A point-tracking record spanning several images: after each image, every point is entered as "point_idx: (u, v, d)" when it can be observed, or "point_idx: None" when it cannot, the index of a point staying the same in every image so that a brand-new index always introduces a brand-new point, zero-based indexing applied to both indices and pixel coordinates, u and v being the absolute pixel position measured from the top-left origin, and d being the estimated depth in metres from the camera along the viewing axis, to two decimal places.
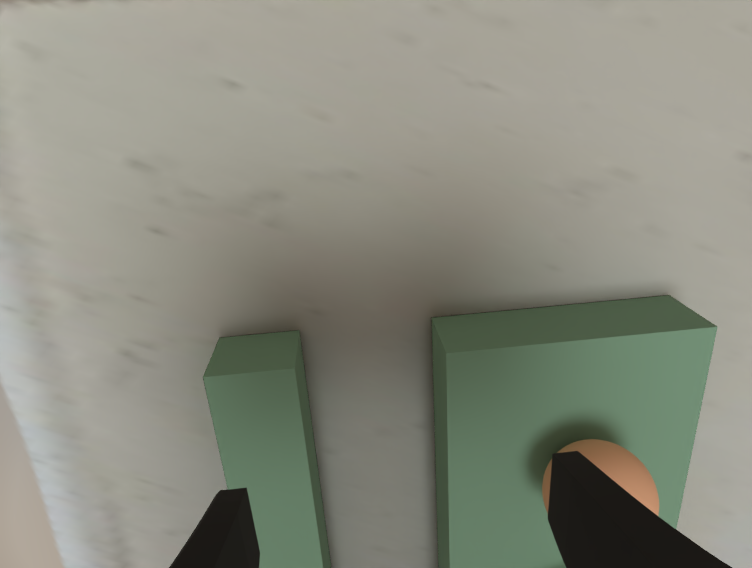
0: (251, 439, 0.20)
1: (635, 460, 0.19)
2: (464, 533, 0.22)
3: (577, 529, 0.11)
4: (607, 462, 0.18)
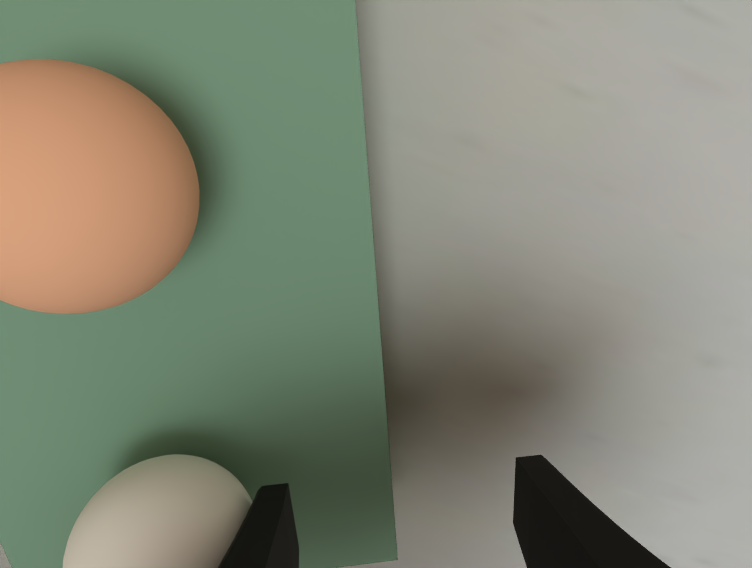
0: None
1: (108, 79, 0.08)
2: None
3: (537, 534, 0.11)
4: (12, 63, 0.07)
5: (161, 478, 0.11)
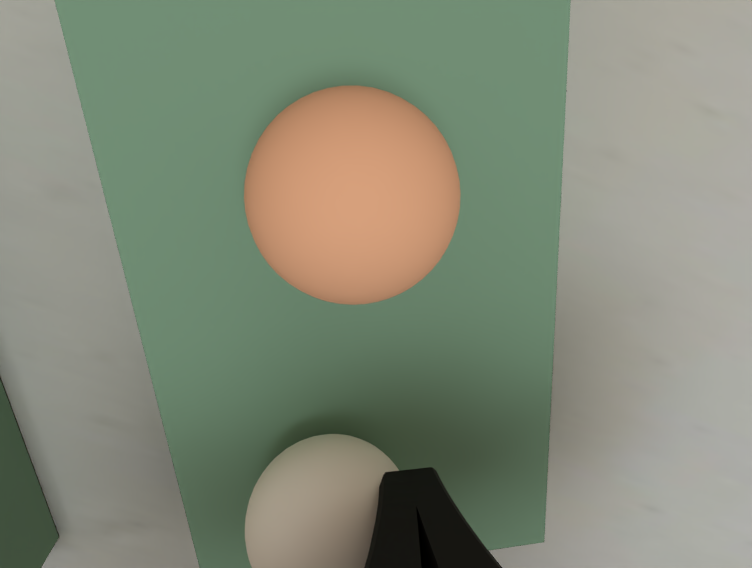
0: None
1: (408, 102, 0.09)
2: (170, 341, 0.13)
3: None
4: (340, 89, 0.09)
5: (336, 448, 0.12)
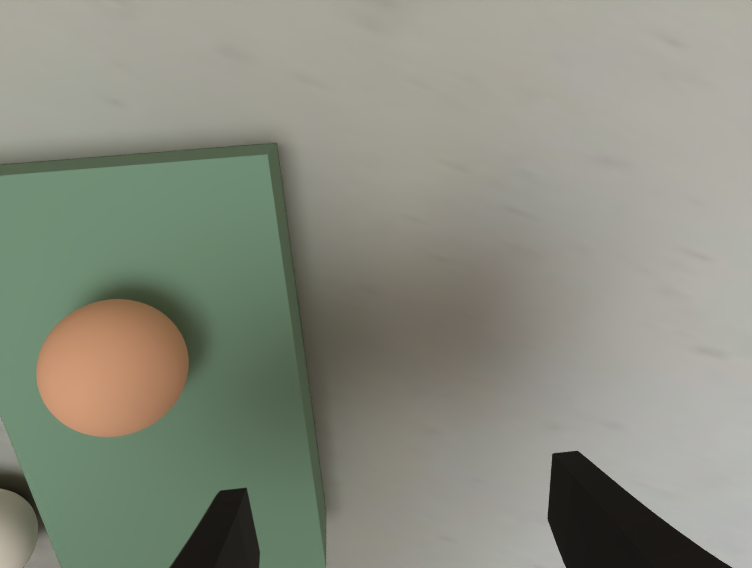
0: None
1: (139, 315, 0.15)
2: (28, 435, 0.18)
3: (577, 529, 0.11)
4: (90, 313, 0.14)
5: None
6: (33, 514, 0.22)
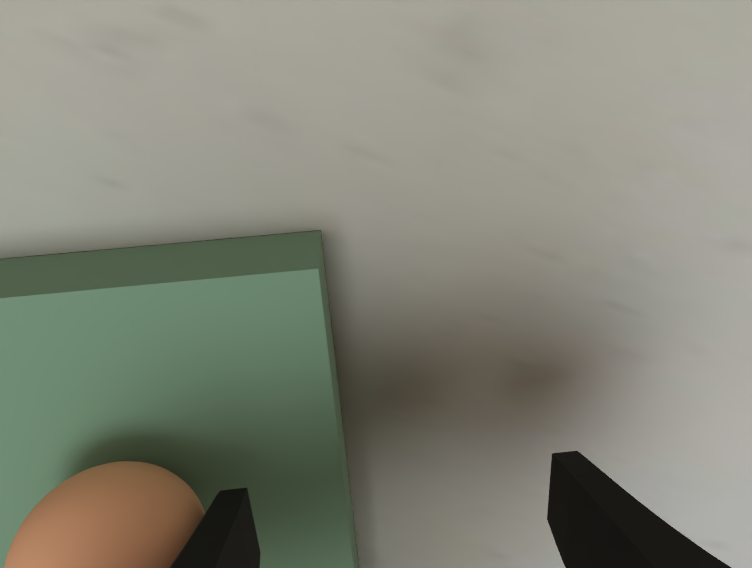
0: None
1: (145, 501, 0.11)
2: None
3: (577, 529, 0.11)
4: (76, 505, 0.10)
5: None
6: None
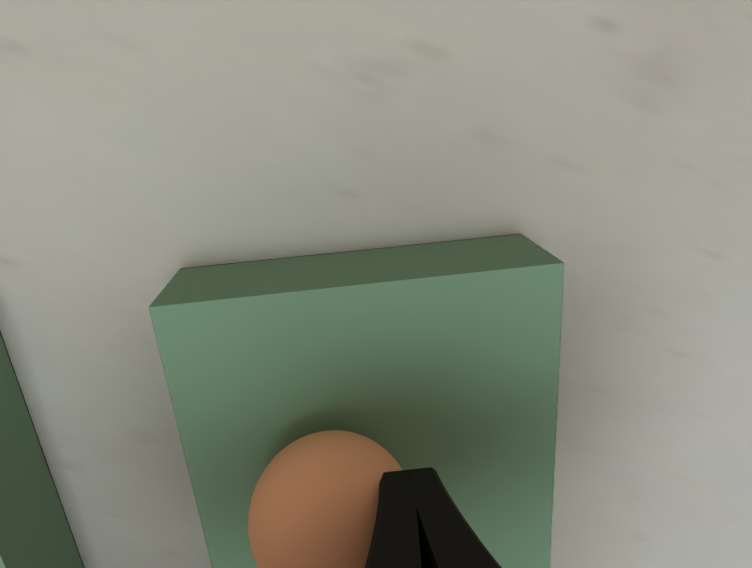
0: None
1: (361, 469, 0.12)
2: None
3: None
4: (313, 448, 0.12)
5: None
6: None
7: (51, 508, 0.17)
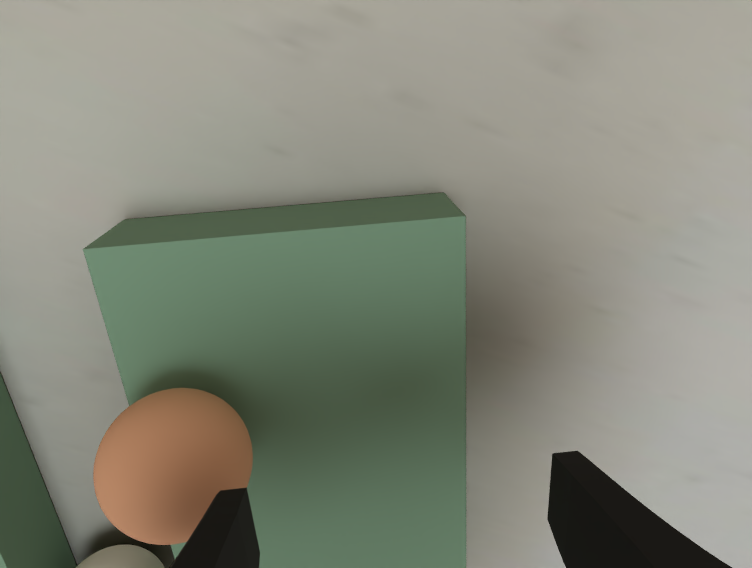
0: None
1: (137, 450, 0.12)
2: None
3: (577, 529, 0.11)
4: (145, 406, 0.13)
5: (104, 550, 0.20)
6: (164, 567, 0.21)
7: (15, 438, 0.19)
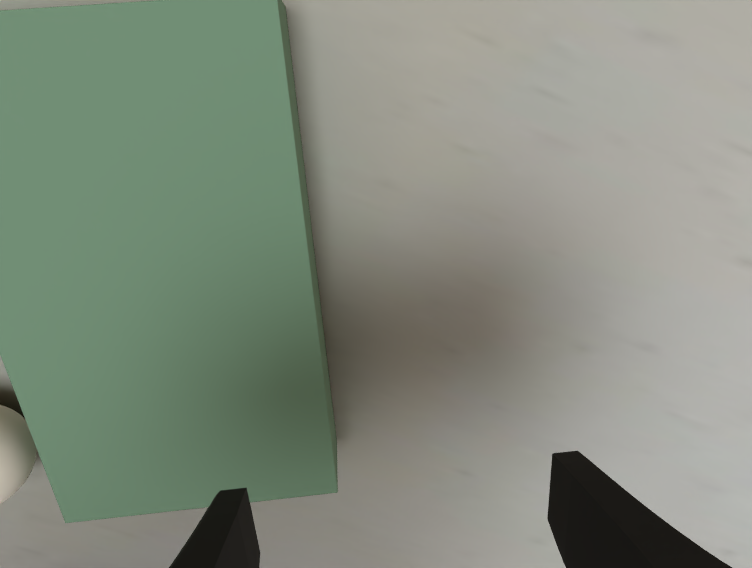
0: None
1: None
2: (12, 329, 0.17)
3: (577, 529, 0.11)
4: None
5: None
6: None
7: None
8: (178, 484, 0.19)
